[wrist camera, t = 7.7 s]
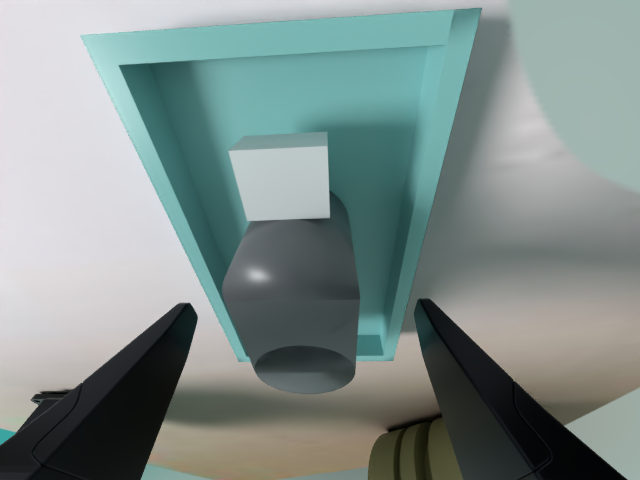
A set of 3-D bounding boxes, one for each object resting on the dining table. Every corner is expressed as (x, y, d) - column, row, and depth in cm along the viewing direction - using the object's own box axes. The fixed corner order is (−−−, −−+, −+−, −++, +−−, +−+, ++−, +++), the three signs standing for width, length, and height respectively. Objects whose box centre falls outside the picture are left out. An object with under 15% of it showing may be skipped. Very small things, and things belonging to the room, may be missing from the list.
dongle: (347, 317, 14) (353, 393, 11) (278, 318, 14) (265, 393, 11) (351, 120, 8) (369, 163, 5) (230, 127, 8) (168, 172, 5)
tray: (386, 333, 16) (392, 360, 14) (246, 334, 16) (239, 361, 15) (449, 17, 7) (481, 7, 5) (129, 39, 7) (79, 35, 6)
